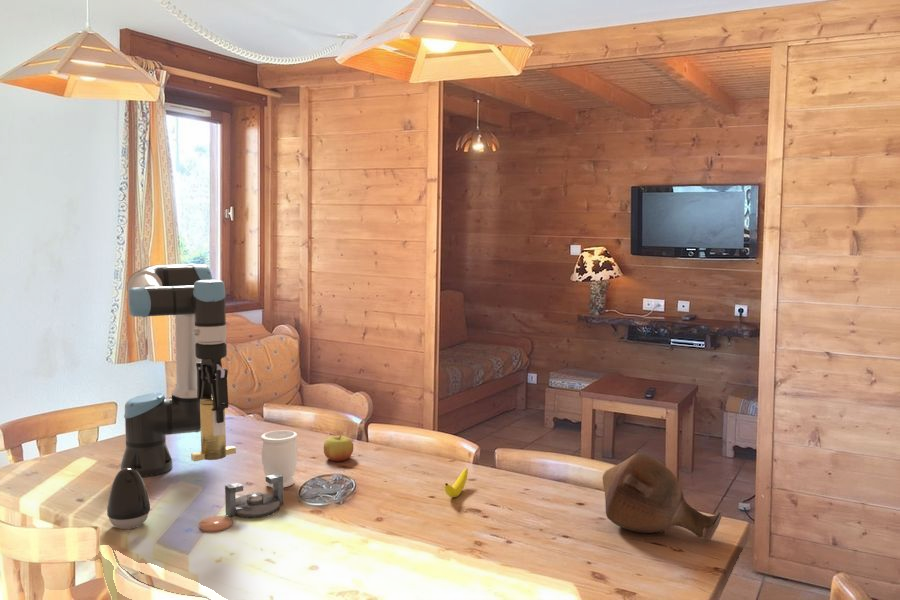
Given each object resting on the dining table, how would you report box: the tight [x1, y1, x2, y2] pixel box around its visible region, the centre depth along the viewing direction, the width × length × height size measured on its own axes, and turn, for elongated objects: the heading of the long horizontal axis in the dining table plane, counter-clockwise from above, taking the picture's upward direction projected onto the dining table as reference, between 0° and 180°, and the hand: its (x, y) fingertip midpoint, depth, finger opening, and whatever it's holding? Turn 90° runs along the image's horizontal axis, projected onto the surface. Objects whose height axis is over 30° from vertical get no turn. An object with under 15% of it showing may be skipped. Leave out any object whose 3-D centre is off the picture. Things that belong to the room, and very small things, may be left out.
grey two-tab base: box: [224, 473, 284, 519], centre depth 212 cm, size 13×16×8 cm
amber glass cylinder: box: [190, 396, 237, 462], centre depth 198 cm, size 6×11×15 cm, turn 130°
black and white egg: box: [106, 468, 151, 530], centre depth 200 cm, size 10×10×15 cm
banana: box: [444, 467, 469, 498], centre depth 224 cm, size 3×19×6 cm, turn 161°
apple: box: [323, 435, 354, 462], centre depth 256 cm, size 10×10×8 cm
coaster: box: [198, 515, 233, 533], centre depth 201 cm, size 8×8×1 cm
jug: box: [602, 452, 723, 541], centre depth 197 cm, size 20×20×30 cm
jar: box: [261, 429, 298, 489], centre depth 232 cm, size 11×10×15 cm
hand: (213, 431), depth 198 cm, fingers closed on amber glass cylinder, 6 cm apart
